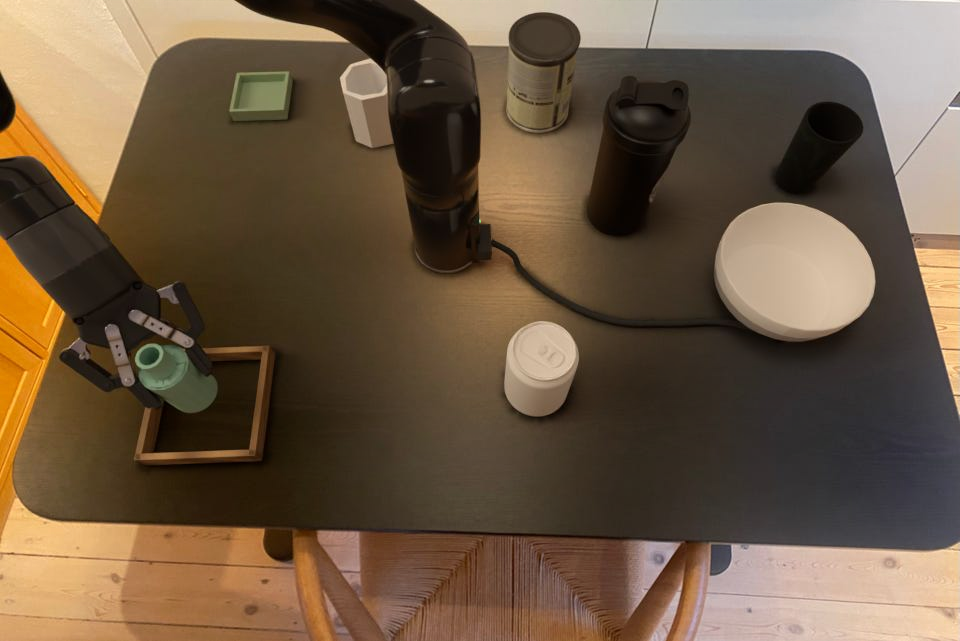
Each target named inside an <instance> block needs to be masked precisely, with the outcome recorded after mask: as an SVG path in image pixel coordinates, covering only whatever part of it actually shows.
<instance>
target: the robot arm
mask: <svg viewBox="0 0 960 641" xmlns="http://www.w3.org/2000/svg"><path fill="white" fill-rule="evenodd" d="M234 1H235V3H237V4H239V5H241V6H243V7H244V8H246V9H247V10H250V11H251V12H252V13H253V12H254V13H256V14H257V15H261V16H264V17H267V18H270V19H273V20H276V21H282V22H286V23H291V24H297V25H302V26H309V27H315V28H319V29H323V30H325V31H329V32H331V33H334V34H336V35H337V36H339V37H341V38H342V39H344V40H345V41H347V42H349V43H350V44H351V45H352V46H354V47H355V48H356V49H358V50H359V51H360V52H362V53H363V54H364V55H366V56H367V57H368V59H370V58H371V59H372V60H373V61H374V62H375V63H376V64H377V65H378V66H379V67H380V68H381V69H382V70H383V71H384V73H385V74H386V77H387V101H388V116H389V123H390V129H391V134H392V139H393V144H392V145H393V148H394V153H395V157H396V162H397V165H398V169H400V171H401V177H402V183H403V189H404V194H405V201H406V204H407V205H406V206H407V211H408V217H409V222H410V228H411V233H412V238H413V247H414V253H415V256H416V258H417V260H418V262H419V264H420V263H421V265H422V266H423V267H424V268H426V269H428V270H430V271H431V272H434V273H437V274H443V275H445V274H446V275H448V274H449V275H450V274H451V275H452V274H455V273H459V272H461V271H464V270H466V269H468V268H469V267H470V266H472V265H474V264H479V263H481V262H482V261H483V262H484V261H492V260H493V248H494V249H496V250H499V251H501V252H503V253H504V254H506V255H507V256H508V257H509V258H510V259H511V260H512V262H513V265H514V267H515V268H516V270H517V272H518V273H519V274H520V275H521V277H523V279H525V280H526V281H527V282H529V284H530V285H531V286H532V287H534V288H536V290H538V291H540V292H541V293H542V294H545V295H546V296H548V297H549V298H551V299H553V300H554V301H556V302H558V303H560V304H562V305H563V306H565V307H567V308H569V309H571V310H573V311H574V312H577V313H578V314H581V315H584V316H585V317H589V318H591V319H593V320H597V321H600V322H604V323H608V324H612V325H618V326H624V327H687V326H688V327H690V326H709V325H710V326H724V327H731V328H738V329H742V330H746V331H749V332H753V333H756V332H755V331H753V330H752V329H750V328H748V327H746V326H745V325H744V324H742V323H741V322H740V321H739V320H737V319H736V320H735V319H728V318H719V317H717V318H715V317H701V318H699V317H698V318H685V319H683V318H681V319H629V318H621V317H616V316H611V315H606V314H603V313H599V312H596V311H594V310H591V309H588V308H586V307H584V306H581V305H579V304H578V303H575V302H573V301H571V300H570V299H568V298H566V297H564V296H562V295H561V294H559V293H557V292H555V291H554V290H552V289H550V288H549V287H547V286H545V285H544V284H542V283H541V282H540V281H538V280H537V279H536V278H535V277H534V276H532V275H531V274H530V273H529V271H528V270H526V268H524V266H523V265H522V263H521V260H520V257H519V255H518V254H517V253H516V252H515V250H513V249H512V248H511V247H510V246H507V245H506V244H503V243H501V242H499V241H498V240H496V239H492V224H491V223H481V219H480V195H479V194H480V191H479V188H480V186H479V184H480V183H479V182H480V181H479V179H480V178H479V176H480V174H479V166H480V161H481V157H482V156H481V153H482V152H481V149H482V110H481V98H480V92H479V84H478V77H477V69H476V63H475V58H474V56H473V52H472V50H471V47H470V45H469V44H468V42H467V40H466V39H465V38H464V36H462V35H461V33H460V32H459V31H457V30H456V29H455V28H454V27H453V26H452V25H450V24H449V23H448V22H446V21H445V20H443V19H442V18H441V17H439V16H438V15H437V14H435V13H434V12H432V11H431V10H430V9H428V8H427V7H425V5H422V3H420V2H418V1H417V0H234ZM16 113H17V104H16V100H15V97H14V94H13V93H12V90H11V88H10V87H9V84H8V83H7V81H6V79H5V77H4V74H3V73H2V71H1V70H0V134H2V133H4V132H5V131H7V130H8V129H10V127H11V125H12V124H13V122H14V120H15V117H16ZM0 238H1V239H2V240H3V241H5V243H6V245H7V246H8V247H9V249H10V250H11V251H12V253H13V255H14V256H15V258H16V259H17V260H18V262H19V263H20V265H21V266H22V267H23V268H24V269H25V270H26V271H27V273H29V275H30V276H31V277H32V278H33V279H34V280H35V281H36V283H37V284H38V285H39V286H40V287H41V288H42V289H43V290H44V292H46V294H47V295H48V296H49V297H50V298H51V299H52V300H53V301H54V303H55V304H56V305H57V306H58V307H59V308H60V309H61V310H62V311H63V313H64V314H65V315H66V316H67V317H68V318H69V320H71V321H72V322H73V324H74V325H75V326H76V328H77V332H78V338H77V339H75V340H74V342H72V343H71V344H70V345H67V346H65V347H64V348H63V349H62V351H61V352H60V354H59V355H58V359H59V361H61V363H63V364H65V365H66V366H68V367H69V368H70V369H72V370H73V371H75V372H76V373H77V374H79V375H80V376H81V377H83V378H84V379H85V380H87V381H89V382H90V383H91V384H93V385H94V386H96V387H97V388H98V389H99V390H101V391H102V392H105V393H111V392H113V391H114V390H117V389H121V388H126V389H127V390H129V391H130V392H131V394H133V396H134V397H135V398H136V399H137V400H138V401H139V402H140V403H141V405H142V406H143V407H144V408H145V407H146V408H149V409H150V408H151V407H154V408H155V409H156V410H158V409H160V408H161V407H164V404H163V401H162V399H161V398H160V397H159V396H158V395H156V394H155V393H153V392H152V391H151V390H149V389H148V388H146V387H145V386H144V385H143V384H142V383H141V382H140V379H139V375H137V372H136V369H135V365H134V362H133V358H132V353H131V352H132V351H133V350H135V349H136V348H137V347H138V346H139V345H140V344H141V343H142V342H145V341H147V340H150V339H151V338H153V337H155V336H156V335H159V336H161V337H162V338H165V339H167V340H170V341H172V342H173V343H176V344H178V345H180V346H182V347H183V349H185V353H186V354H187V355H188V356H189V357H190V359H191V360H192V361H193V362H194V363H195V365H196V366H197V367H198V368H199V369H200V371H201V372H202V373H203V374H204V375H205V376H206V377H208V376H209V375H213V371H212V368H213V367H214V366H213V361H211V359H210V358H209V356H208V355H207V354H206V353H205V351H204V350H203V349H202V348H203V347H202V346H201V345H200V344H199V343H198V338H199V337H200V336H201V334H203V333H204V332H205V330H206V326H205V321H204V319H203V318H202V316H201V314H200V312H199V309H198V308H197V306H196V304H195V302H194V299H193V297H192V295H191V293H190V291H189V290H188V287H187V285H186V284H185V282H184V281H183V280H182V279H176V280H174V281H173V282H172V283H170V284H167V285H164V286H162V287H159V288H155V287H153V286H152V285H149V284H147V283H146V282H145V281H144V279H142V277H141V276H140V275H139V273H138V272H137V271H136V270H135V268H133V266H132V265H131V264H130V262H129V261H128V260H127V259H126V257H124V255H123V254H122V253H121V252H120V250H119V249H118V248H117V247H116V246H115V244H114V243H113V242H112V241H111V238H110V236H109V235H108V234H107V233H106V232H105V231H104V230H102V228H101V227H100V226H99V225H98V223H97V222H96V221H95V220H94V219H93V218H92V217H91V216H89V214H88V213H87V212H85V210H84V209H82V208H81V207H80V206H79V204H78V203H76V201H75V199H74V198H73V197H72V196H71V194H70V193H69V192H68V191H67V190H66V188H65V187H64V186H63V185H62V183H60V181H59V180H58V179H57V178H56V176H55V175H54V174H53V173H52V172H51V171H50V169H49V168H48V167H47V165H45V164H44V163H43V161H41V160H40V159H38V158H36V157H34V156H32V155H15V156H8V157H2V158H0ZM162 299H167V300H168V301H169V302H170V303H171V304H174V305H178V304H179V305H180V307H181V309H182V310H183V313H184V315H185V317H186V319H187V321H188V323H189V326H188V328H187V329H186V330H185V329H183V328H181V327H180V326H178V325H176V324H175V323H174V322H172V321H170V320H168V319H167V318H164V317H163V316H162ZM88 344H89V345H92V346H96V347H100V348H104V349H107V350H111V351H110V352H111V354H112V357H113V360H114V364H115V367H116V368H117V372H118V373H116V374H113V373H111V372H109V371H108V370H107V369H105V368H104V367H103V366H102V365H100V364H99V363H97V362H95V361H94V360H93V359H92V358H90V357H91V355H92V353H91V351H90V349H89V348H88Z"/></svg>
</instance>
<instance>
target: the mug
mask: <svg viewBox="0 0 960 641" xmlns="http://www.w3.org/2000/svg"><path fill="white" fill-rule="evenodd" d="M339 81H340V86H341V90H342V95H343V97H344V102H345V105H346V109H347V110H346V111H347V113H348V118H349V121H350V124H351V128H352V132H353V136H354V141H355V142H356V143H358V144H362V145H363V146H366V147H369V148H371V149H376V148H380V147H383V146H389V145H394V144H393V139H392V134H391V129H390V123H389V116H388V101H387V77H386V74H385V73H384V71H383V70H382V69H381V68H380V67H379V66H378V65H377V64H376V63H375V62H374V61H373V60H372V59H371V58H366V59H363V60H361V61H357V62H354V63H350V64H349V65H348V66H347V68H346V69H345V70H344V72H343V73H342V74H341V76H340V77H339Z"/></svg>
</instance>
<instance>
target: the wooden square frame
mask: <svg viewBox="0 0 960 641" xmlns="http://www.w3.org/2000/svg"><path fill="white" fill-rule="evenodd" d="M201 348H202V349H203V350H204V351H205V353H206V354H207V355H208V356H209V358H210V359H211V362H229V361H255V360H260V366H259V374H258V380H257V388H256V395H255V403H254V412H253V418H252V425H251V435H250V441H249V447H248V449H227V450H226V449H225V450H223V449H222V450H200V451H199V450H198V451H174V452H155V447H156V442H157V436H158V432H159V428H160V423H161V418H162V413H163V407H164V406H163V407H161V408H160V409H158V410H156V409H155V408H154V407H151V408H150V409H149V408H146V407H144V412H143V416H142V421H141V424H140V425H141V426H140V430H139V434H138V440H137V444H136V448H135V453H134V457H133V461H134V462H136V463H139V464H140V465H143V466H164V465H185V464H186V465H189V464H215V463H217V464H218V463H241V462H243V463H244V462H245V463H246V462H262V461H263V458H264V457H263V456H264V450H265V441H266V432H267V425H268V416H269V409H270V400H271V392H272V384H273V376H274V368H275V362H276V352H275V351H274V350H273V349H272V348H271V346H270V345H255V346H230V347H229V346H227V347H201ZM182 349H183V350H184V351H185V348H182ZM160 398H161V397H160ZM161 399H162V398H161ZM162 401H163V405H164V402H165V400H164V399H162Z"/></svg>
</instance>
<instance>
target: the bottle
mask: <svg viewBox="0 0 960 641" xmlns="http://www.w3.org/2000/svg"><path fill="white" fill-rule="evenodd" d="M183 349H184V348H182V347H180V346H177V345H175V344H161V345H159V344H158V343H147V344H145V345H143V346H141V347H140V348H139V350H138V351H136V354H135V358H134V362H135V364H136V366H137V367H138V370H137V374H138V375H137V376H138V377H139V379H140V382H141V383H142V384H143V385H144V386H145V387H146V388H148V389H149V390H151V391H152V392H153V393H155V394H156V395H158V396H159V397H161V398H162V399H164V402H166V403H168V404H169V405H171V406H173V407H174V408H176V409H177V410H179V411H181V412H182V413H187V414H193V413H199V412H202V411H204V410H206V409H207V408H209V406H211V405H212V404H213V402H214V401H215V399H216V397H217V394H218V389H219V388H218V386H219V385H218V382H217V379H216V378H215V377H214V376H213V374H211V375H209V376H208V377H206V376H205V375H204V374H203V373H202V372H201V371H200V369H199V368H198V367H197V366H196V365H195V363H194V362H193V361H192V360H191V359H190V357H189V356H188V355H187V354H186V353H185V351H184V350H183Z"/></svg>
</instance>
